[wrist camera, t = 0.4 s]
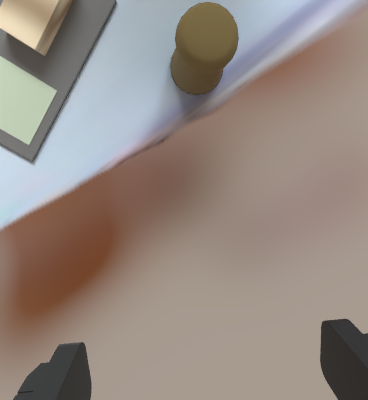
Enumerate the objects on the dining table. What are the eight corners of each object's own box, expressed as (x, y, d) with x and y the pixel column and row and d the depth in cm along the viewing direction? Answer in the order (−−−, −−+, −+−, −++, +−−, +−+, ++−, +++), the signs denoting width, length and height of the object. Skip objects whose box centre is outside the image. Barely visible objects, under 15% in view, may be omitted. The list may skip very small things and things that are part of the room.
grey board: (12, -69, 30) (10, -73, 30) (116, 1, 32) (115, -1, 31) (-66, 104, 33) (-70, 104, 33) (33, 160, 35) (31, 161, 34)
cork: (230, 49, 33) (259, 5, 23) (212, 102, 34) (232, 84, 24) (179, 29, 33) (184, -25, 22) (163, 84, 34) (159, 57, 23)
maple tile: (40, -40, 30) (28, -55, 28) (79, -13, 31) (72, -26, 29) (6, 32, 32) (-8, 23, 29) (44, 56, 32) (34, 49, 30)
